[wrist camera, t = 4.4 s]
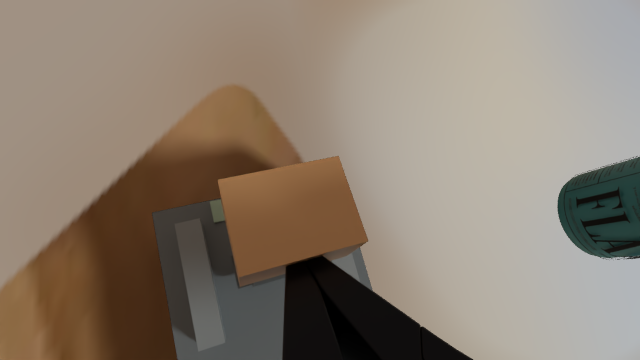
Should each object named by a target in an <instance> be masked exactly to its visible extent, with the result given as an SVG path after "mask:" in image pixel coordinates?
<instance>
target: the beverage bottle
mask: <svg viewBox="0 0 640 360" xmlns="http://www.w3.org/2000/svg"><path fill="white" fill-rule="evenodd" d="M558 214H559V219H560V222H561V225H562V227H563V229H564V231H565V233H566V234H567V236H568V237H569V238H570V240H571V241H572V242H573V243H574V244H575V245H576V246H577V247H578V248H580V249H581V250H583V251H584V252H586V253H588V254H591V255H594V256H598V257H600V258H601V257H605V258H613V257H630V258H627V259H635V258H640V157H638V158H635V159H631V160H628V161H625V162H621V163H618V164H614V165H611V166H608V167H605V168H601V169H598V170H594V171H591V172H588V173H584V174H581V175H578V176H576V177H574V178H573V179H571V180H570V181H568V182H567V183H566V184H565V185H564V186H563V188H562V189H561V191H560V194H559V197H558ZM631 257H633V258H631Z"/></svg>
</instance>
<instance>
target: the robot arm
mask: <svg viewBox="0 0 640 360" xmlns="http://www.w3.org/2000/svg"><path fill="white" fill-rule="evenodd" d="M282 360H473V359H471V358H470V357H468V356H466V355H465V354H463V353H462V352H460V351H458V350H456V349H455V348H454V347H452V346H450V345H449V344H448V343H446V342H445V341H443V340H442V339H440V338H439V337H437V336H436V335H434V334H433V333H431V332H430V331H428V330H427V329H426V328H424V327H420V324H419V323H417V322H416V321H414V320H413V319H411V318H410V317H409V316H407V315H406V314H404V313H403V312H402V311H400V310H399V309H397V308H396V307H394V306H393V305H391V304H390V303H389V302H387V301H386V300H385V299H383V298H382V297H380V296H379V295H378V294H376V293H375V292H373V291H372V290H370V289H369V288H368V287H366V286H365V285H363V284H362V283H361V282H359V281H358V280H356V279H355V278H354V277H352V276H351V275H349V274H348V273H346V272H345V271H344V270H342V269H341V268H339V267H338V266H337V265H335V264H334V263H332V262H331V261H330V260H328V259H327V258H325V257H324V256H321V257H317V258H313V259H310V260H307V261H305V262H304V261H303V262H299V263H296V264H292V265H289V266H286V269H285V296H284V322H283V349H282Z"/></svg>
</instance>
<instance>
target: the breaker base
mask: <svg viewBox="0 0 640 360" xmlns="http://www.w3.org/2000/svg"><path fill="white" fill-rule="evenodd" d="M152 216H153V222H154V228H155V233H156V239H157V245H158V250H159V256H160V262H161V268H162V273H163V279H164V285H165V290H166V296H167V302H168V308H169V313H170V319H171V325H172V331H173V336H174V342H175V348H176V353H177V359H178V360H282V349H283V322H284V296H285V278H282V279H279V280H276V281H272V282H269V283H265V284H262V285H259V286H255V287H253V285H250V286H247V287H243V288H240V289H238V287H237V282H236V278H235V273H234V268H233V264H232V259H231V256H233V254H232V249H231V244H230V240H229V235H228V231H227V226H226V222H225V217H224V213H223V208H222V203H221V198H219V199H214V200H209V201H205V202H200V203H195V204H191V205H186V206H181V207H177V208H172V209H167V210H162V211H158V212H153V213H152ZM331 262H332V263H334V264H335V265H337V266H338V267H339V268H341V269H342V270H344V271H345V272H346V273H348V274H349V275H351V276H352V277H354V278H355V279H356V280H358V281H359V282H361V283H362V284H363V285H365V286H366V287H368V288H369V289H370V290H372V287H371V284H370V280H369V277H368V274H367V270H366V267H365V264H364V260H363V257H362V253H361V250H360V247H359V248H358V249H356V250H355V251H353V252H352V253H350V254H349V255H348V256H345V257H342V258H338V259H335V260H331ZM372 291H373V290H372Z"/></svg>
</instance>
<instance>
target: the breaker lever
mask: <svg viewBox="0 0 640 360" xmlns="http://www.w3.org/2000/svg"><path fill="white" fill-rule="evenodd" d="M218 185H219V191H220V197H221V203H222V208H223V213H224V217H225V222H226V226H227V231H228V235H229V240H230V244H231V249H232V254H233V256H231V259H232V264H233V268H234V273H235V278H236V282H237V287H238V289H240V288H243V287H247V286H250V285H253V287H255V286H259V285H262V284H265V283H269V282H272V281H276V280H279V279H282V278H285V269H286V266H289V265H292V264H296V263H299V262H303V261H304V262H305V261H307V260H310V259H313V258H317V257H321V256H324V257H325V258H327V259H328V260H330V261H331V260H335V259H338V258H342V257H345V256H348V255H349V254H350V253H352V252H353V251H355V250H356V249H358V248H359V247H360V246H362V245H363V244H365V243H366V242H368V239H367V236H366V233H365V230H364V227H363V225H362V221H361V219H360V216H359V213H358V210H357V207H356V204H355V202H354V199H353V196H352V193H351V190H350V187H349V184H348V182H347V179H346V176H345V173H344V170H343V168H342V164H341V162H340V159H339V156H336V157H331V158H326V159H320V160H315V161H310V162H305V163H300V164H295V165H290V166H285V167H280V168H275V169H269V170H264V171H259V172H254V173H249V174H244V175H239V176H234V177H229V178H224V179H219V180H218Z"/></svg>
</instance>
